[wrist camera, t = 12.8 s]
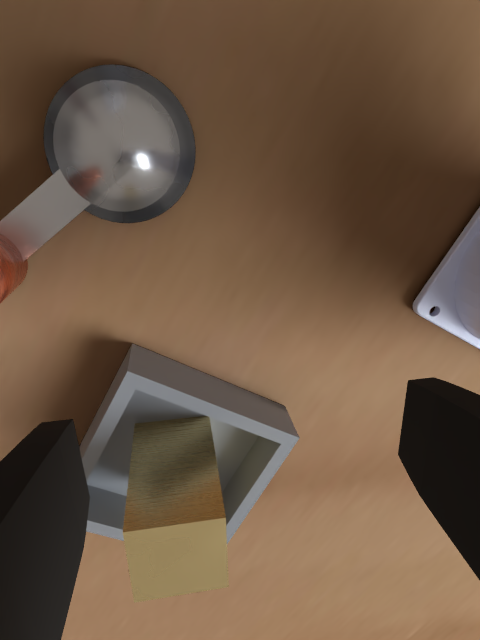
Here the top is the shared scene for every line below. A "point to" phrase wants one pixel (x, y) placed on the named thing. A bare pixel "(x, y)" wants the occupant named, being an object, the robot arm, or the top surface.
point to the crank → (93, 168)
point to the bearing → (171, 107)
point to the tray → (175, 403)
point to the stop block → (174, 511)
